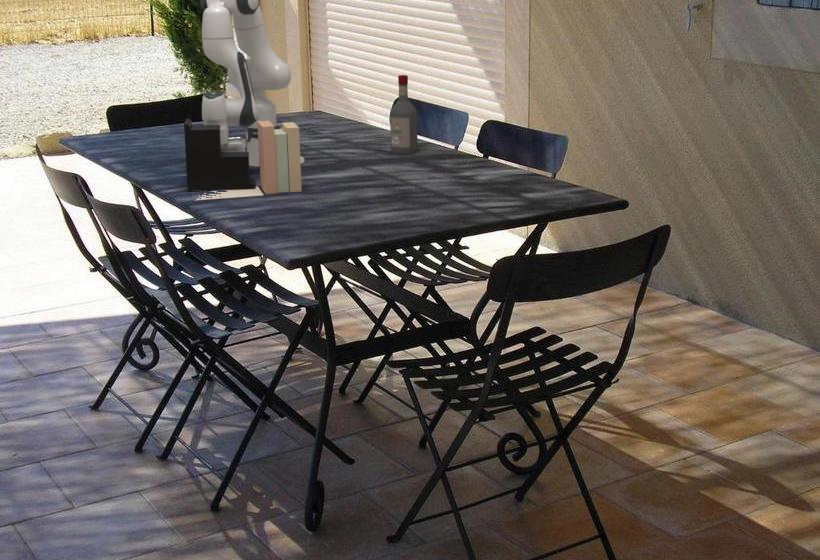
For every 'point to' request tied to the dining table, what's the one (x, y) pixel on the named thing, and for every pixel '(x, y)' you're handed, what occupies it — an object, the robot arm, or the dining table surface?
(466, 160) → the dining table surface
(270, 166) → the book row
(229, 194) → the cream mat
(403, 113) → the liquor
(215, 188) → the black drawer cabinet
